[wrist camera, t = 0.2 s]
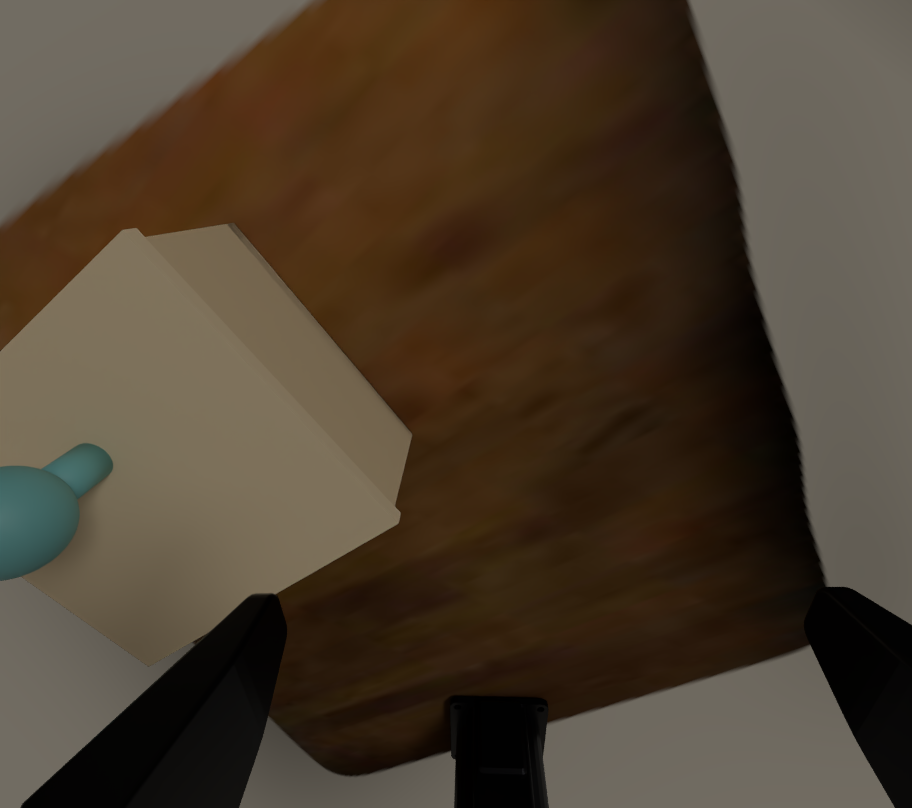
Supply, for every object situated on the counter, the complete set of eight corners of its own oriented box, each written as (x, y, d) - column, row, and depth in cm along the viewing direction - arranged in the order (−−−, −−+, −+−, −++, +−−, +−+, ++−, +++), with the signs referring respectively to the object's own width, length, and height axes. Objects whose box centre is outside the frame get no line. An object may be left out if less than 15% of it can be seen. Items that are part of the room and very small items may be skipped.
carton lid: (400, 513, 18) (372, 641, 13) (157, 654, 22) (61, 795, 17) (136, 228, 14) (-58, 253, 9) (-105, 465, 18) (-334, 577, 13)
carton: (412, 434, 23) (393, 510, 18) (221, 555, 27) (157, 648, 22) (233, 222, 19) (139, 237, 14) (39, 399, 23) (-95, 465, 18)
